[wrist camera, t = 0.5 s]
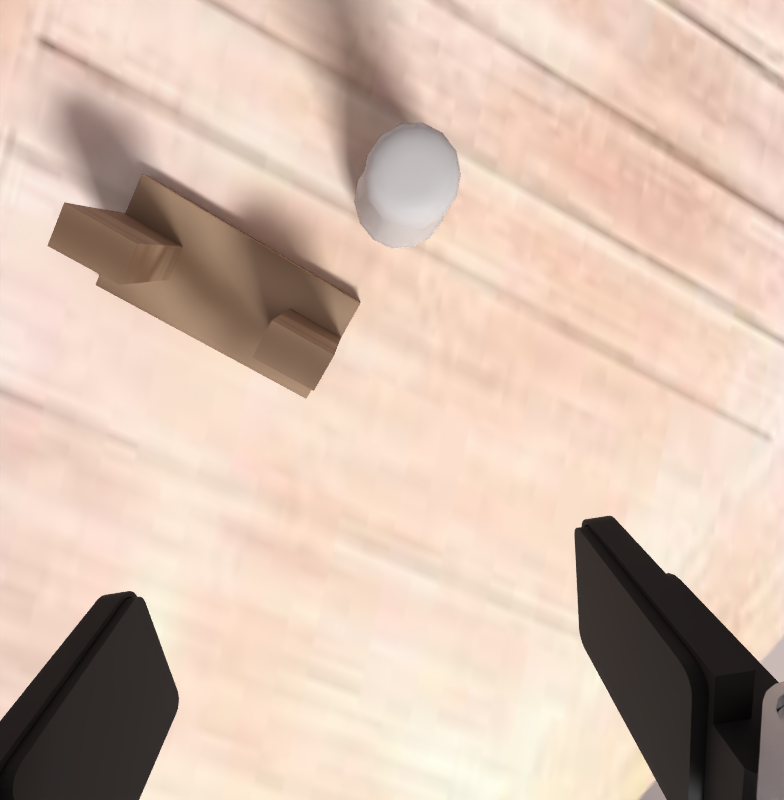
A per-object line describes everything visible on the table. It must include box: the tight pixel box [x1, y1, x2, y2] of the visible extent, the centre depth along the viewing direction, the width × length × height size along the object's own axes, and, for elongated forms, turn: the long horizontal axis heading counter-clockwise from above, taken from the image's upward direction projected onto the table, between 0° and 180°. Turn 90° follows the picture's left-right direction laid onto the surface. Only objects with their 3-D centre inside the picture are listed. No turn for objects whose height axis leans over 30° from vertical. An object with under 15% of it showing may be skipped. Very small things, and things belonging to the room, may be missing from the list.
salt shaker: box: [354, 123, 460, 248], centre depth 27 cm, size 6×6×13 cm
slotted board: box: [48, 174, 360, 398], centre depth 30 cm, size 8×16×8 cm, turn 59°
